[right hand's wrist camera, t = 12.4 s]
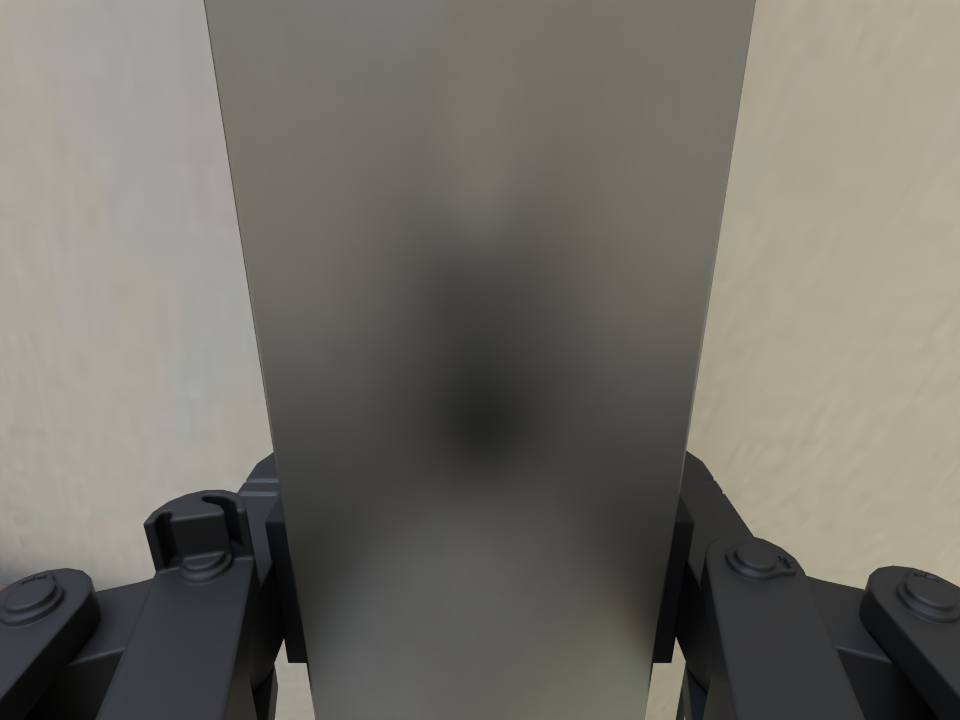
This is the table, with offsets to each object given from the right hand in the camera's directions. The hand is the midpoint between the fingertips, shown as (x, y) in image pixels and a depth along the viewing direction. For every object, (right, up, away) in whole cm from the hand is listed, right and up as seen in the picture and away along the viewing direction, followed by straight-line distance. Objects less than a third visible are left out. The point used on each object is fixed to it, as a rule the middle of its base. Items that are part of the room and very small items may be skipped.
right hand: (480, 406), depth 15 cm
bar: (0, +8, -2) cm, 9 cm away
